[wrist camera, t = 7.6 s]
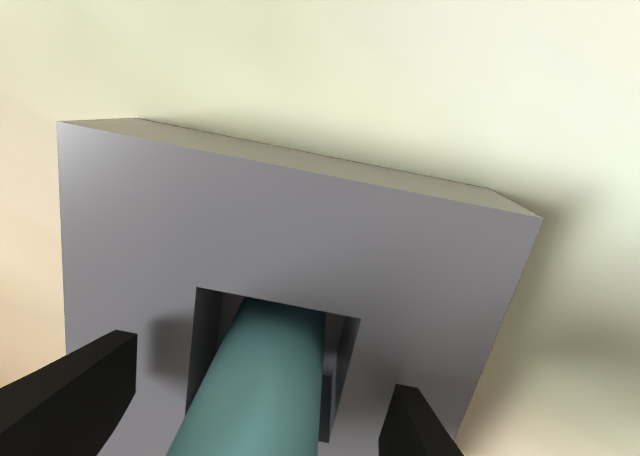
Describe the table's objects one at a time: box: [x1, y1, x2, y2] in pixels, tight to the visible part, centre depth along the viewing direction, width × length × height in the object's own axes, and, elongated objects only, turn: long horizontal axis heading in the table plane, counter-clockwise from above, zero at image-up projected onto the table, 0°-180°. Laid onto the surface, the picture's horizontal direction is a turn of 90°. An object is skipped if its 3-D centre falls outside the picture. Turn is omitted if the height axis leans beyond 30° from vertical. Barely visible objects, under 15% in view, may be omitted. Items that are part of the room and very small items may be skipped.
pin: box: [166, 296, 326, 456], centre depth 10 cm, size 3×3×8 cm
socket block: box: [57, 118, 544, 456], centre depth 12 cm, size 12×12×4 cm
